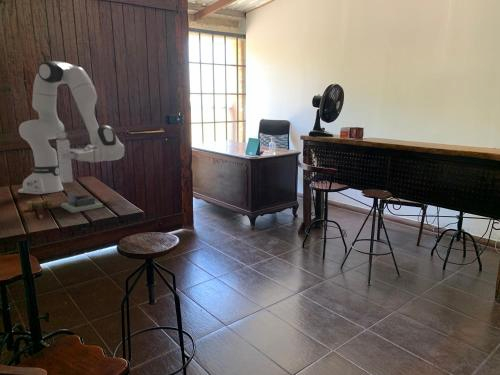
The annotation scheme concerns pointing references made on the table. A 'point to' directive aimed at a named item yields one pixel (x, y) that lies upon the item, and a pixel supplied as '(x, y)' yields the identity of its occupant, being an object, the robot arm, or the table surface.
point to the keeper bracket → (80, 203)
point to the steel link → (64, 163)
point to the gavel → (39, 206)
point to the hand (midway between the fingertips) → (62, 155)
